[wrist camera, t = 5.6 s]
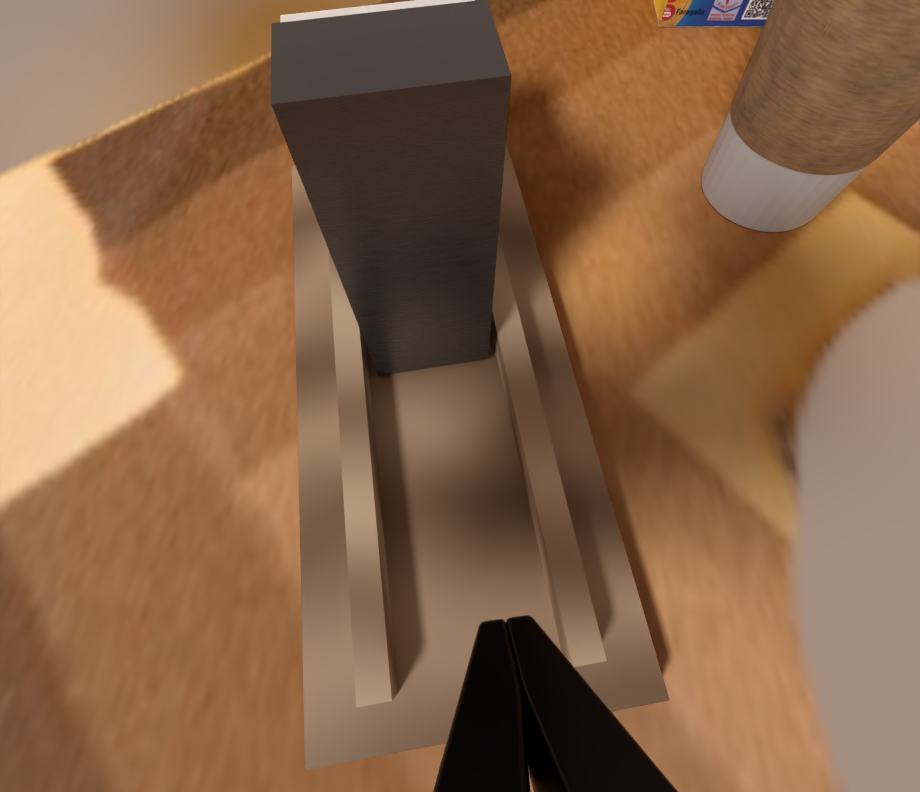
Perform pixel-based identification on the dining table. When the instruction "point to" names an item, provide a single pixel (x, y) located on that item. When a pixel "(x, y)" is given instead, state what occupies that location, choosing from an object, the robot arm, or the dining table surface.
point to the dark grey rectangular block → (402, 168)
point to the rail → (447, 511)
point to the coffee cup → (814, 108)
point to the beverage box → (712, 13)
